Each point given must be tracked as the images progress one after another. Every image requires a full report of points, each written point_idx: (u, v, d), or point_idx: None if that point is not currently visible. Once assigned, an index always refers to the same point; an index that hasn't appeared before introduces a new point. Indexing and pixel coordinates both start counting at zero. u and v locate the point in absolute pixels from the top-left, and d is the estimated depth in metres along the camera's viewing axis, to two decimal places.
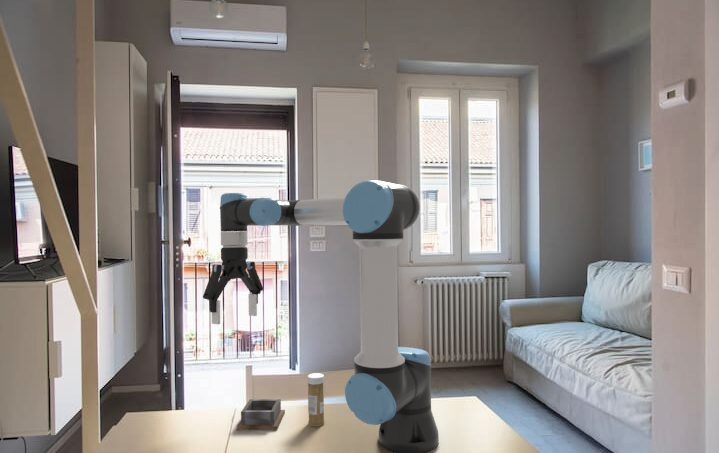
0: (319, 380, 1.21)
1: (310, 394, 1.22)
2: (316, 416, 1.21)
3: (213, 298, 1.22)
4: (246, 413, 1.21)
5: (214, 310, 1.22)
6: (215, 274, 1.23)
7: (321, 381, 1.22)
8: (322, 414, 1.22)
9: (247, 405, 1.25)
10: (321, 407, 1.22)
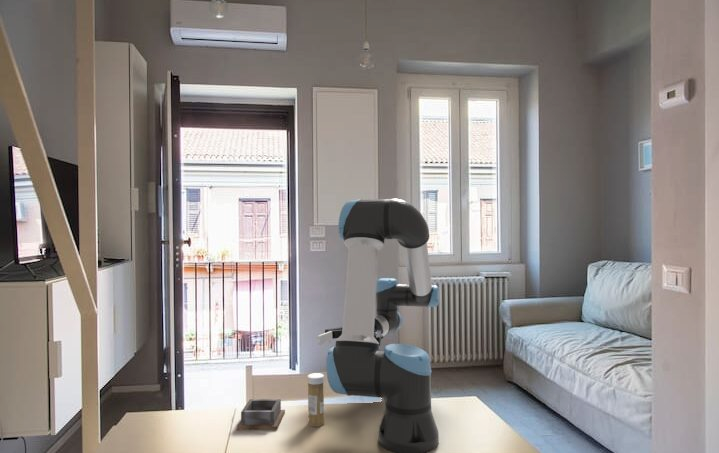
0: (319, 380, 1.21)
1: (310, 394, 1.22)
2: (316, 416, 1.21)
3: None
4: (246, 413, 1.21)
5: None
6: None
7: (321, 381, 1.22)
8: (322, 414, 1.22)
9: (247, 405, 1.25)
10: (321, 407, 1.22)
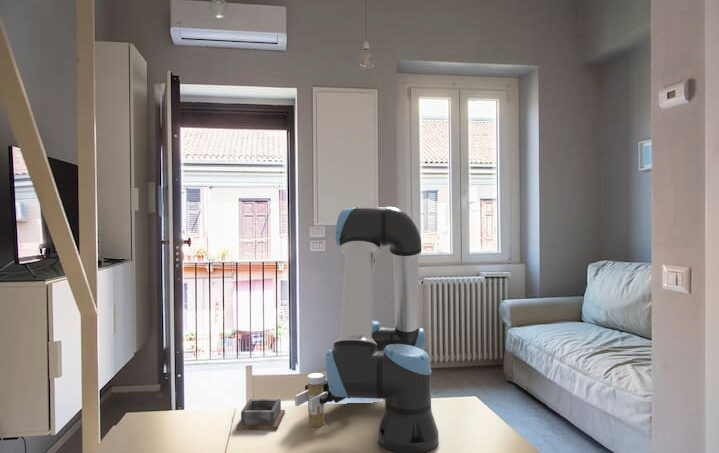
0: (319, 380, 1.21)
1: (310, 394, 1.22)
2: (316, 416, 1.21)
3: None
4: (246, 413, 1.21)
5: None
6: None
7: (321, 381, 1.22)
8: (322, 414, 1.22)
9: (247, 405, 1.25)
10: (321, 407, 1.22)
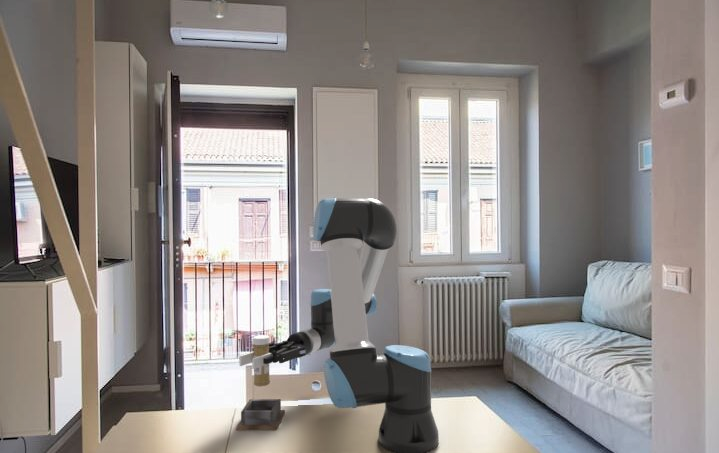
0: (263, 341, 1.24)
1: (255, 355, 1.24)
2: (261, 376, 1.23)
3: None
4: (246, 413, 1.21)
5: None
6: None
7: (266, 342, 1.24)
8: (267, 374, 1.24)
9: (247, 405, 1.25)
10: (266, 367, 1.24)
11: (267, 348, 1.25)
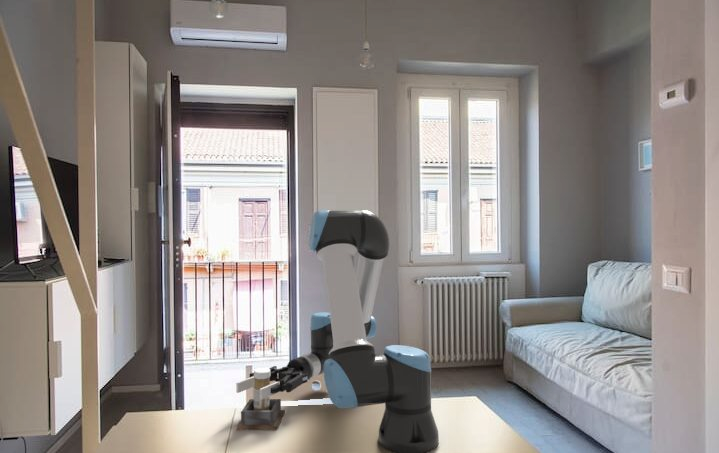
0: (264, 375, 1.23)
1: (255, 388, 1.24)
2: None
3: None
4: (246, 413, 1.21)
5: None
6: None
7: (267, 376, 1.24)
8: (267, 408, 1.24)
9: (247, 405, 1.25)
10: (266, 401, 1.24)
11: (268, 382, 1.25)
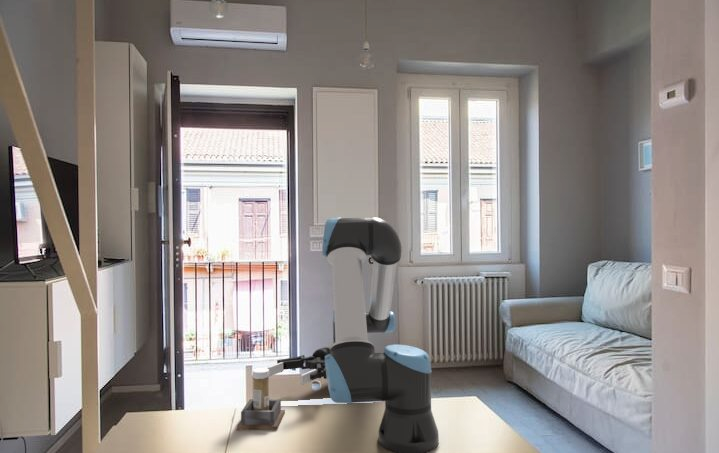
0: (263, 375, 1.24)
1: (255, 388, 1.24)
2: None
3: None
4: (246, 413, 1.21)
5: None
6: None
7: (266, 375, 1.24)
8: (267, 408, 1.24)
9: (247, 405, 1.25)
10: (265, 401, 1.24)
11: (267, 381, 1.25)
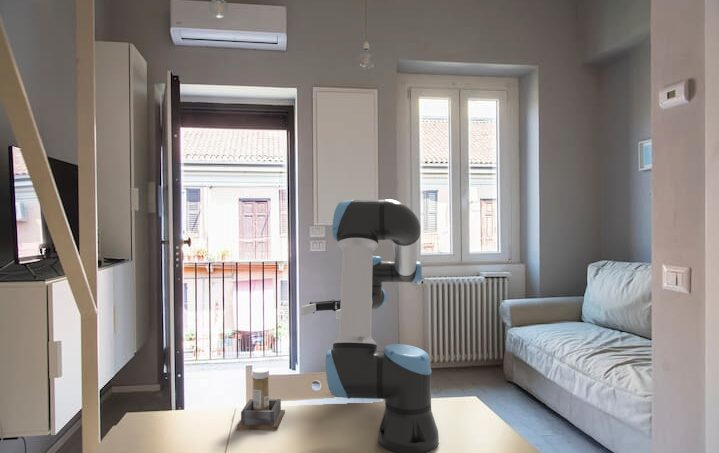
0: (263, 375, 1.24)
1: (254, 388, 1.24)
2: None
3: None
4: (246, 413, 1.21)
5: None
6: None
7: (265, 375, 1.24)
8: (267, 408, 1.24)
9: (247, 405, 1.25)
10: (265, 401, 1.24)
11: (267, 381, 1.25)
